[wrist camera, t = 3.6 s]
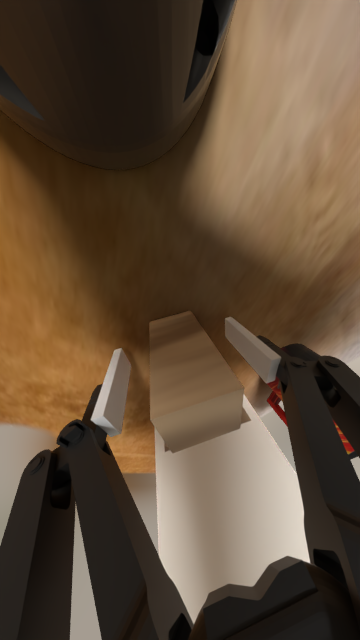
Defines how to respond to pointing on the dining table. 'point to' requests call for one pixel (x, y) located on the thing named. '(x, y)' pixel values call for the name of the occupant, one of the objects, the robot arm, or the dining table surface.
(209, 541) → the cabinet
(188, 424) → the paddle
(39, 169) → the dining table surface
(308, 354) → the mug
